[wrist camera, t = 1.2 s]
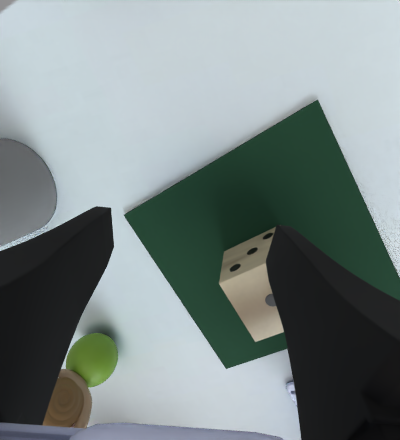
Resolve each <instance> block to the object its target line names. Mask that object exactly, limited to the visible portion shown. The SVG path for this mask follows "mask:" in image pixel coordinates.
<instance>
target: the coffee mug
mask: <svg viewBox="0 0 400 440" xmlns="http://www.w3.org/2000/svg"><path fill="white" fill-rule="evenodd" d="M56 199H57V195H56V187H55V183H54V180H53V178H52V175H51V173H50V171H49V169H48V167H47V166H46V164H45V163H44V162H43V160H42V159H41V158H40V157H39V156H38V155H37V154H36V153H35V152H34V151H33V150H31V149H30V148H29V147H27V146H25V145H24V144H22V143H20V142H17V141H15V140H11V139H0V247H1V246H3V245H5V244H7V243H10V242H12V241H14V240H16V239H18V238H21V237H23V236H25V235H27V234H29V233H32V232H34V231H36V230H38V229H40V228H42V227H43V226H45V225H46V224H47V223H48V222H49V220H50V219H51V217H52V216H53V214H54V211H55V208H56Z"/></svg>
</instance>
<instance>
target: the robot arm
mask: <svg viewBox="0 0 400 440" xmlns="http://www.w3.org/2000/svg"><path fill="white" fill-rule="evenodd" d="M113 248H114V241H113V229H112V216H111V208H107V207H97V206H96V207H94V208H92V209H90V210H88V211H86V212H84V213H82V214H80V215H78V216H77V217H75V218H73V219H71V220H69V221H67V222H65V223H64V224H62V225H60V226H58V227H56V228H54V229H52V230H50V231H47V232H45V233H43V234H41V235H39V236H37V237H35V238H33V239H30V240H28V241H26V242H23V243H21V244H18V245H15V246H13V247H10V248H8V249H5V250H2V251H0V440H283V439H282V438H280V437H276V436H271V435H266V434H262V433H257V432H245V431H231V430H217V429H203V428H189V427H175V426H162V425H148V424H134V423H108V424H95V425H93V426H90V427H88V428H86V429H85V428H70V427H56V426H42V425H43V421H44V418H45V415H46V412H47V409H48V406H49V403H50V399H51V396H52V393H53V390H54V388H55V385H56V382H57V379H58V376H59V373H60V370H61V367H62V364H63V362H64V359H65V356H66V354H67V351H68V348H69V346H70V343H71V340H72V338H73V335H74V333H75V330H76V328H77V325H78V323H79V320H80V318H81V316H82V313H83V311H84V309H85V307H86V305H87V303H88V301H89V300H90V298H91V296H92V294H93V292H94V290H95V288H96V286H97V284H98V283H99V281H100V279H101V277H102V275H103V273H104V271H105V269H106V267H107V265H108V262H109V259H110V257H111V254H112V251H113ZM266 267H267V274H268V280H269V284H270V287H271V290H272V294H273V297H274V300H275V303H276V307H277V310H278V313H279V316H280V319H281V323H282V326H283V330H284V334H285V338H286V343H287V348H288V353H289V358H290V364H291V369H292V375H293V381H294V382H290V383H287V384H286V389H287V391H288V393H289V394H290V396H291V398H292V399H293V401H294V403H295V404H296V406H297V408H298V415H299V423H300V431H301V440H400V301H399V300H398V299H396V298H394V297H392V296H390V295H388V294H386V293H384V292H383V291H381V290H379V289H377V288H375V287H374V286H372V285H370V284H369V283H367V282H365V281H364V280H362V279H361V278H359V277H357V276H356V275H354V274H353V273H351V272H350V271H348V270H347V269H345V268H344V267H343V266H341V265H340V264H338V263H337V262H336V261H334V260H333V259H332V258H330V257H329V256H328V255H326V254H325V253H324V252H323V251H321V250H320V249H319V248H318V247H316V246H315V245H314V244H313V243H311V242H310V241H309V240H308V239H307V238H305V237H304V236H303V235H302V234H300V233H299V232H298V231H297V230H295V229H294V228H292V227H291V226H284V225H276V229H275V232H274V235H273V238H272V242H271V245H270V248H269V252H268V255H267V258H266ZM292 390H293V391H292Z"/></svg>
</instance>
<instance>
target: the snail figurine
mask: <svg viewBox="0 0 400 440" xmlns="http://www.w3.org/2000/svg"><path fill="white" fill-rule="evenodd" d="M117 360H118V351H117V347H116V344H115V343H114V341H113V340H112V339H111V338H110V337H109V336H107V335H105V334H101V333H92V334H88V335H85V336H83V337H82V338H80V339H79V340H78V341H77V342H76V343H75V344H74V345H73V346H72V348H71V349H70V351H69V353H68V356H67V360H66V369H61V370H60V373H59V376H58V377H59V378H58V379H57V382H56V385H55V388H54V390H53V393H52V396H51V399H50V403H49V406H48V409H47V412H46V415H45V418H44V421H43V425H42V426H56V427H71V426H72V425H73V424H74V423H75V425H74V428H85V429H86V428H87V425H88V422H89V418H90V414H91V408H92V398H91V394H90V391H89V389H88V387H94V386H97V385H99V384H101V383H103V382H104V381H106V380H107V379H108V378H109V377H110V376H111V374H112V373H113V371H114V369H115V367H116V364H117Z"/></svg>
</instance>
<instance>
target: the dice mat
mask: <svg viewBox="0 0 400 440" xmlns="http://www.w3.org/2000/svg"><path fill="white" fill-rule="evenodd" d="M124 216H125V218H126V219H127V221H128V222H129V224H130V225H131V227H132V228H133V230H134V231H135V233H136V234H137V236H138V237H139V239H140V240H141V242H142V243H143V245H144V246H145V248H146V249H147V251H148V252H149V254H150V255H151V257H152V258H153V260H154V261H155V263H156V264H157V266H158V267H159V269H160V270H161V272H162V273H163V275H164V276H165V278H166V279H167V281H168V282H169V284H170V285H171V287H172V288H173V290H174V291H175V293H176V294H177V296H178V297H179V299H180V300H181V302H182V303H183V305H184V306H185V308H186V309H187V311H188V312H189V314H190V315H191V317H192V318H193V320H194V321H195V323H196V324H197V326H198V327H199V329H200V330H201V332H202V333H203V335H204V336H205V338H206V339H207V341H208V342H209V344H210V345H211V347H212V348H213V350H214V351H215V353H216V354H217V356H218V357H219V359H220V360H221V362H222V363H223V365H224V366H225V368H226V369H227V368H230V367H233V366H236V365H239V364H242V363H245V362H248V361H251V360H254V359H257V358H260V357H263V356H266V355H269V354H272V353H275V352H278V351H281V350H284V349H287V343H286V338H285V334H284V332H282V333H280V334H277V335H274V336H271V337H268V338H265V339H262V340H260V341H257V342H255V341H254V339H253V338H252V336H251V334H250V333H249V331H248V329H247V328H246V326H245V325H244V323H243V321H242V320H241V318H240V317H239V315H238V313H237V312H236V310H235V309H234V307H233V305H232V304H231V302H230V301H229V299H228V297H227V296H226V294H225V293H224V291H223V289H222V288H221V286H220V285H219V281H220V274H221V268H222V261H223V255H224V251H226V250H228V249H230V248H233V247H235V246H237V245H239V244H241V243H243V242H245V241H247V240H249V239H251V238H254V237H256V236H258V235H260V234H262V233H264V232H266V231H268V230H270V229H272V228H274V227H276V225H284V226H291V227H292V228H294V229H295V230H297V231H298V232H299V233H300V234H302V235H303V236H304V237H305V238H307V239H308V240H309V241H310V242H311V243H313V244H314V245H315V246H316V247H318V248H319V249H320V250H321V251H323V252H324V253H325V254H326V255H328V256H329V257H330V258H332V259H333V260H334V261H336V262H337V263H338V264H340V265H341V266H343V267H344V268H345V269H347V270H348V271H350V272H351V273H353V274H354V275H356V276H357V277H359V278H361V279H362V280H364V281H365V282H367V283H369V284H370V285H372V286H374V287H375V288H377V289H379V290H381V291H383V292H384V293H386V294H388V295H390V296H392V297H394V298H396V299H398V300H399V301H400V278H399V276H398V274H397V271H396V269H395V267H394V265H393V263H392V261H391V258H390V256H389V254H388V252H387V250H386V248H385V245H384V243H383V241H382V239H381V237H380V234H379V232H378V230H377V228H376V226H375V224H374V221H373V219H372V217H371V215H370V213H369V210H368V208H367V206H366V204H365V202H364V200H363V197H362V195H361V193H360V191H359V189H358V186H357V184H356V182H355V180H354V178H353V176H352V173H351V171H350V169H349V167H348V165H347V163H346V160H345V158H344V156H343V154H342V152H341V149H340V147H339V145H338V143H337V141H336V139H335V136H334V134H333V132H332V130H331V128H330V125H329V123H328V121H327V119H326V117H325V115H324V112H323V110H322V108H321V106H320V104H319V101H318V100H316V101H314V102H313V103H311V104H309V105H308V106H306V107H304V108H303V109H301V110H299V111H298V112H296V113H294V114H292V115H291V116H289V117H287V118H286V119H284V120H282V121H281V122H279V123H277V124H276V125H274V126H272V127H271V128H269V129H267V130H266V131H264V132H262V133H261V134H259V135H257V136H256V137H254V138H252V139H251V140H249V141H247V142H245V143H244V144H242V145H240V146H239V147H237V148H235V149H234V150H232V151H230V152H229V153H227V154H225V155H224V156H222V157H220V158H219V159H217V160H215V161H214V162H212V163H210V164H209V165H207V166H205V167H204V168H202V169H200V170H198V171H197V172H195V173H193V174H192V175H190V176H188V177H187V178H185V179H183V180H182V181H180V182H178V183H177V184H175V185H173V186H172V187H170V188H168V189H167V190H165V191H163V192H162V193H160V194H158V195H157V196H155V197H153V198H151V199H150V200H148V201H146V202H145V203H143V204H141V205H140V206H138V207H136V208H135V209H133V210H131V211H130V212H128V213H126V214H125V215H124Z"/></svg>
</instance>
